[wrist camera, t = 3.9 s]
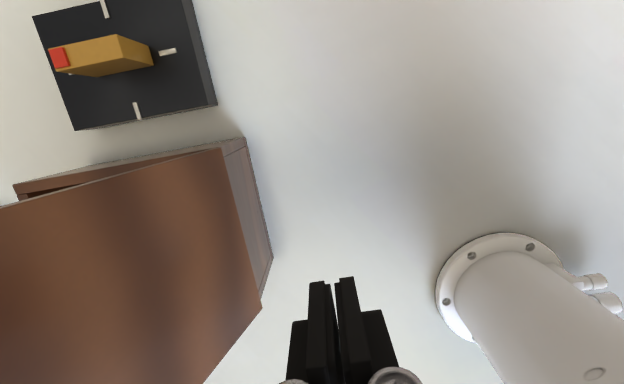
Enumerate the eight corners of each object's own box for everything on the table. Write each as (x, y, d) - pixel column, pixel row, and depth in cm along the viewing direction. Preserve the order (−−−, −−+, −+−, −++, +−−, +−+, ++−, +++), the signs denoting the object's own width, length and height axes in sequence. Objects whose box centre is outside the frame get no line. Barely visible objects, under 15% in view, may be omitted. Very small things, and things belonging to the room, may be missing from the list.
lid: (-25, 643, 9) (-13, 657, 9) (-305, 289, 6) (-301, 292, 6) (254, 307, 24) (262, 308, 24) (212, 148, 21) (221, 146, 20)
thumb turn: (148, 45, 24) (113, 32, 20) (154, 65, 25) (121, 57, 21) (89, 57, 25) (44, 48, 21) (96, 77, 25) (52, 71, 21)
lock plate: (190, -7, 26) (175, -19, 23) (218, 106, 28) (208, 106, 25) (57, 23, 26) (28, 14, 24) (95, 130, 29) (73, 132, 26)
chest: (132, 279, 33) (76, 330, 25) (89, 165, 30) (11, 184, 22) (273, 257, 32) (259, 304, 24) (245, 136, 29) (218, 146, 21)
